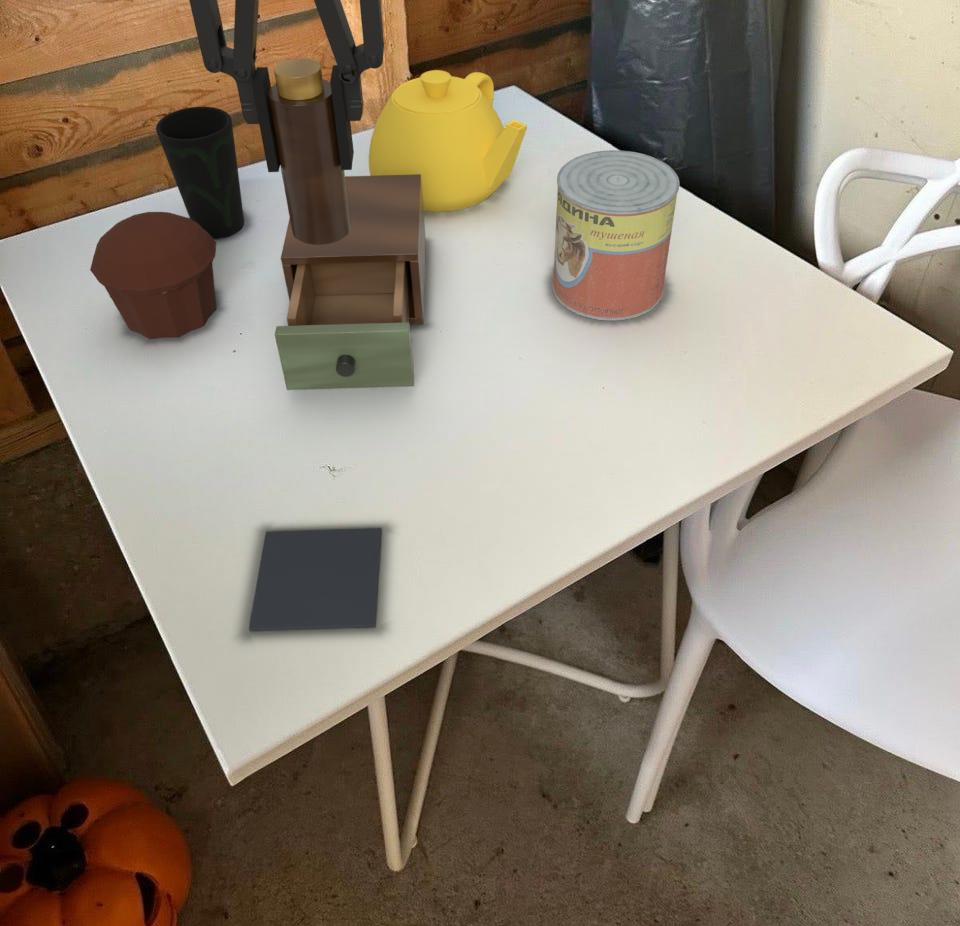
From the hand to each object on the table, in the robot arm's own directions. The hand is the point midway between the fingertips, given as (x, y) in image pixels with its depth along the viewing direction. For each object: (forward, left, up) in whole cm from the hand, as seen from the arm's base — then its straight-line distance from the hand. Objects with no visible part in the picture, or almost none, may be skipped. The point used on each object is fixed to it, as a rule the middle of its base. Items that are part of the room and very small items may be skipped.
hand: (311, 161), depth 68 cm
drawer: (0, +5, -21) cm, 22 cm away
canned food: (+25, +14, -22) cm, 37 cm away
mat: (-1, -22, -22) cm, 31 cm away
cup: (-17, +28, -22) cm, 40 cm away
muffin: (-19, +12, -22) cm, 32 cm away
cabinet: (0, +16, -22) cm, 28 cm away
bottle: (0, 0, -6) cm, 6 cm away
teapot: (+10, +36, -22) cm, 44 cm away
